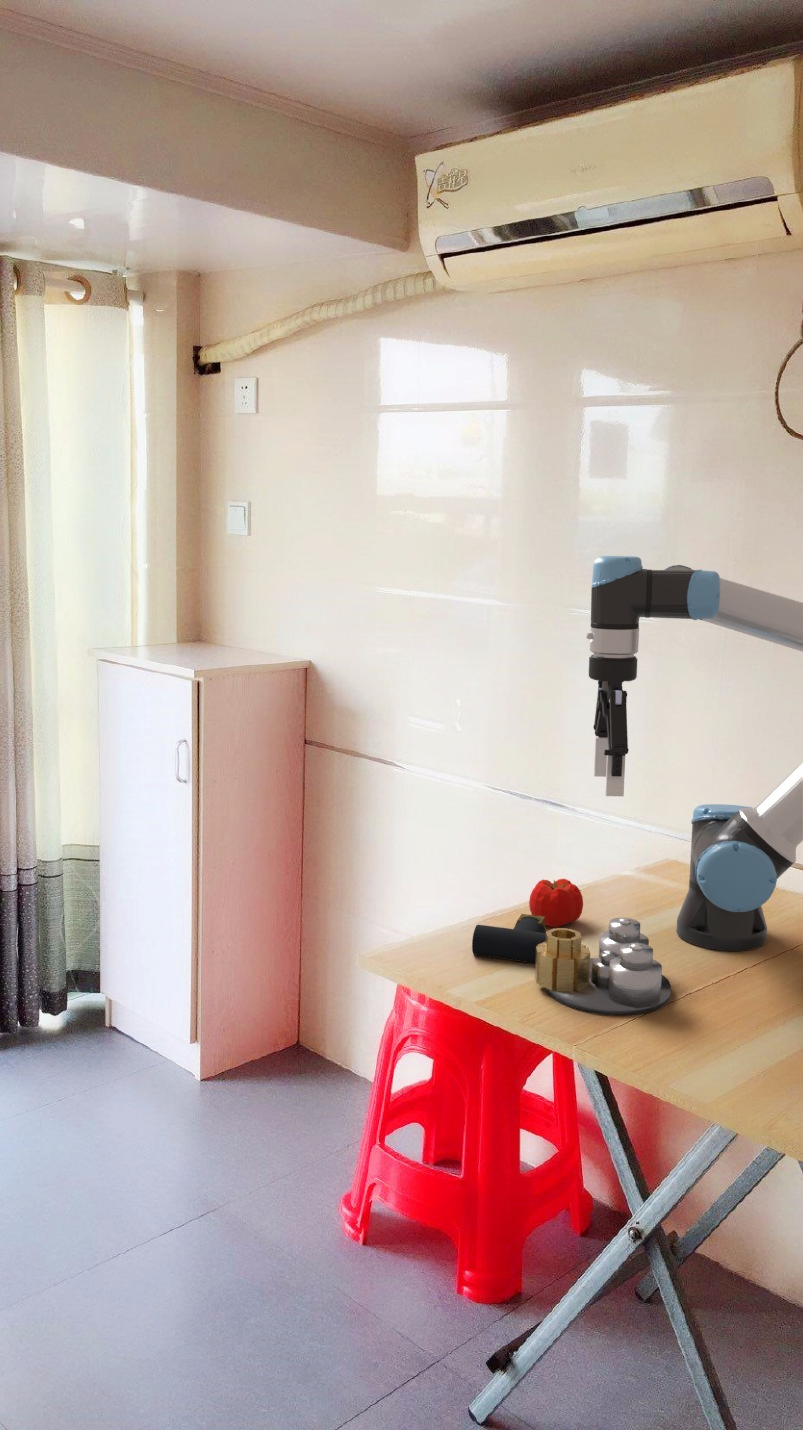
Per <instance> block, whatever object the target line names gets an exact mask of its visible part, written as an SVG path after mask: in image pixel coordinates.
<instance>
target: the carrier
mask: <svg viewBox="0 0 803 1430" xmlns="http://www.w3.org/2000/svg"><path fill="white" fill-rule="evenodd" d="M608 924H609V925H608V930H607V931H603V932H601V933H600V934H599V943H598V944H599V947H598V957H596V958H595V957H594V958H593V957H590V976H589V985H588V987H585V988H583V989H581V990H578V991H577V990H574V989H573V992H571V991H556V989H554V990H549V989H547V988H545V990H546V992H547V994H548V995H549V996H550V997H551V998H552V999H554V1000H555V1001H556V1002H558V1003H560V1004H562V1005H563V1006H566V1007H568V1006H569V1008H571V1007H572V1009H574V1008H575V1009H574V1010H577V1011H581V1010H582V1011H581V1012H584V1011H585V1012H584V1013H590V1014H595V1015H603V1016H604V1015H605V1016H618V1017H619V1016H634V1015H635V1016H636V1015H642V1014H648V1013H651V1012H654V1011H657V1010H659V1009H661V1008H663V1007H665V1006H666V1005H667V1004H668V1003H669V1002H670V1000H671V996H672V984H671V982H670V980H669V979H668V978H667V977H666V976H665V975H663V974H662V973H663V966H662V964H661V963H660V962H659V961H657V960H656V959H654V949H653V947H651V946H650V944H649V943H650V939H649V937H648V936H647V935H645V934H643V933H641V923H640V921H638V920H637V919H634V918H629V917H615V918H611V919H610V920H609V921H608Z"/></svg>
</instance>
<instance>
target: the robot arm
mask: <svg viewBox="0 0 803 1430" xmlns="http://www.w3.org/2000/svg"><path fill="white" fill-rule="evenodd" d="M642 563H643V562H642V558H640V557H639V556H633V555H632V556H631V555H630V556H629V555H601V556H599V557H598V558H596V559H595V560H594V562H593V567H592V568H593V569H592V580H591V591H590V592H591V593H590V595H591V596H590V597H591V598H590V599H591V600H590V631H591V632H589V633H587V634H586V639H588V640H590V641H589V651H590V652H591V653H593V654H591V655H590V656H589V657H588V677H589V679H591V680H594V681H597V684H598V686H597V699H596V704H595V705H596V706H595V713H594V714H595V715H594V724H593V730H594V735H595V738H594V739H595V740H594V764H593V765H594V766H593V777H597V778H598V777H601V778H602V777H604V778H605V794H604V795H605V797H624V796H625V795H624V793H625V773H626V755H628V754H629V745H628V744H629V742H628V741H629V740H628V738H629V737H628V716H627V715H628V714H627V709H628V708H627V699H628V698H627V697H628V692H627V690H623V683H624V682H632V681H635V680H636V679H637V677H638V675H637V674H638V658H637V656H636V655H635V654H637V653H639V643H640V642H639V637H640V625H639V624H640V618H646V619H647V618H648V619H649V618H655V619H656V618H657V619H658V618H659V619H678V620H679V619H681V620H682V619H684V620H693V621H698V620H700V621H703V622H706V623H710V624H713V625H715V626H719V627H722V628H726V629H729V630H733V631H735V632H739V633H742V634H744V635H748V636H751V637H754V638H758V639H761V640H764V641H767V642H770V643H774V644H776V645H780V646H783V647H786V648H790V649H793V650H796V651H800V652H802V653H803V602H801V601H798V600H794V599H792V598H788V597H785V596H782V595H779V594H775V593H771V592H769V591H766V590H762V589H761V590H760V589H758V588H756V587H755V588H754V587H752V586H749V585H745V584H741V583H738V582H735V581H732V580H728V579H725V578H723V577H720V574H719V572H717V571H713V570H703V569H693V568H691V567H690V566H686V565H682V564H676V565H674V564H673V565H671V566H668V567H666V568H664V569H647V568H644V567H643V564H642ZM690 821H691V822H690V823H691V826H692V828H691V843H690V862H689V863H690V864H689V880H688V881H689V883H688V890H687V893H686V895H685V898H684V901H683V903H682V906H681V907H680V911H679V913H678V915H677V919H676V928H675V929H676V930H675V932H676V934H677V936H678V937H679V938H681V939H682V940H684V941H685V942H687V943H689V944H691V945H694V946H697V947H701V948H705V949H709V950H710V949H711V950H716V951H726V952H738V951H739V952H742V951H751V950H755V949H758V948H761V947H763V946H764V945H765V944H766V943H767V941H768V940H767V939H768V925H767V922H766V918H765V915H764V911H763V907H762V906H763V905H764V904H766V903H767V902H768V901H769V899H770V898H771V897H772V895H773V893H774V891H775V889H776V887H777V882H778V879H779V878H780V877H781V876H782V875H783V874H784V873H786V872H787V870H788V869H789V868H791V866H793V865H794V864H795V863H796V861H797V847H798V846H799V845H800V844H801V843H802V842H803V760H802V761H801V762H800V763H799V764H798V765H797V766H796V767H795V768H794V769H793V770H792V771H791V772H790V773H789V774H788V775H787V776H785V778H784V779H783V780H782V781H781V782H780V783H779V784H778V785H777V786H776V787H775V788H773V790H771V792H769V793H768V794H767V795H766V796H765V798H764V799H762V801H761V802H759V804H757V805H756V806H755V807H752V806H747V805H746V806H745V805H736V804H719V803H717V804H715V803H714V804H713V803H712V804H709V803H708V804H700V805H698V806H696V807H695V808H694V810H693V813H692V819H691V820H690ZM764 943H765V944H764ZM763 944H764V945H763ZM762 945H763V946H762Z"/></svg>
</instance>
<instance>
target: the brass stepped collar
mask: <svg viewBox="0 0 803 1430" xmlns="http://www.w3.org/2000/svg"><path fill="white" fill-rule="evenodd" d="M586 946H587V945H585V944H582V935H581V932H579V930H575V929H572V928H567V927H565V928H564V927H563V928H562V927H555V928H551V929H549V930H546V942H543V943H541V944H538V946H536V963H535V967H534V969H535V971H534V978H535V982H536V984H538V986H539V987H542V988H545V989H546V988H547V989H549V990H554V989H556V991H571V992H573V989H574V990H577V991H578V990H581V989H583V988H585V987H588V985H589V976H590V958H591V952H590V951H591V950H590V949H589V947H586Z"/></svg>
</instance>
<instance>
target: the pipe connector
mask: <svg viewBox="0 0 803 1430" xmlns="http://www.w3.org/2000/svg"><path fill="white" fill-rule="evenodd" d="M546 926H547V925H545V917H544V916H535V915H532V914H527V913H521V914H520V916H519V917H518V919H517V920H516V922H515V924H514V927H513V928H508V927H500V926H492V925H487V924H486V925H485V924H477V925H475V927H474V929H473V934H472V939H471V940H472V942H471V950H472V953H473V954H472V955H474V956H480V957H488V958H495V959H502V960H509V961H515V962H523V963H529V964H536V946H538V944H541V943H543V942H546V932H547V927H546Z"/></svg>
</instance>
